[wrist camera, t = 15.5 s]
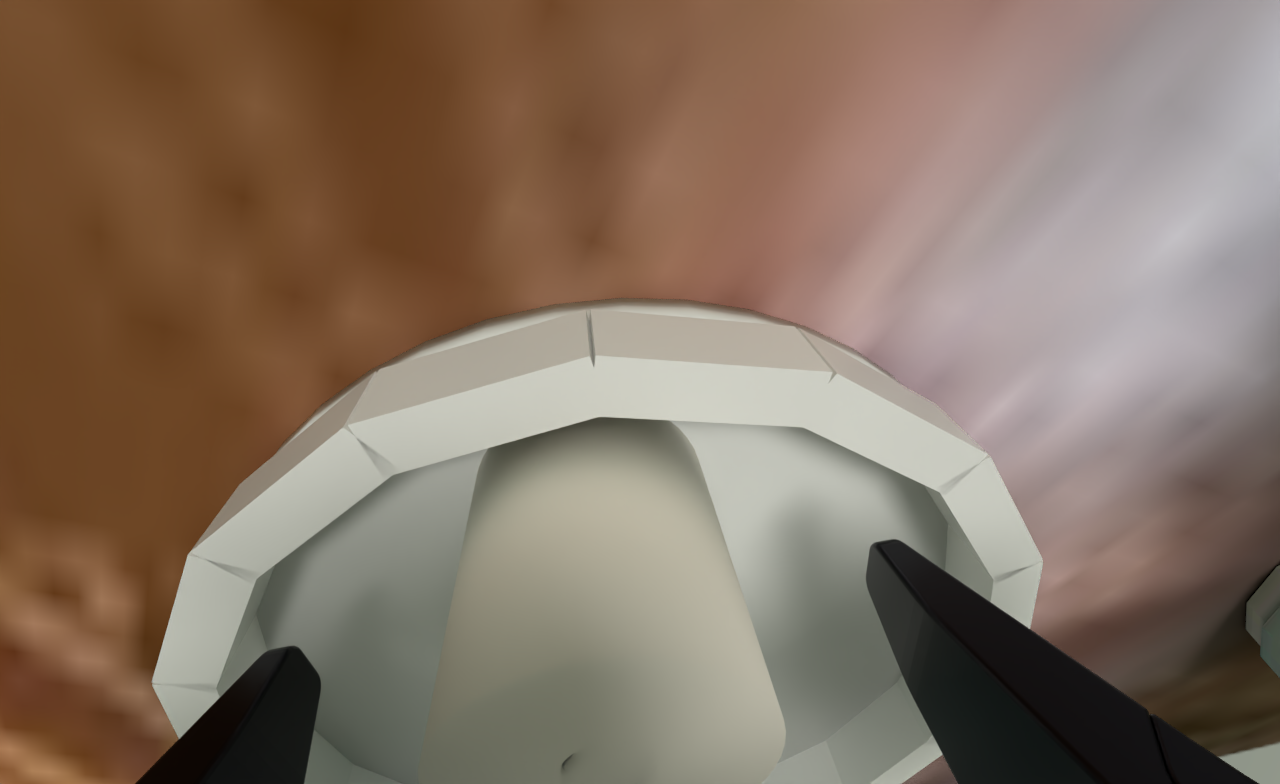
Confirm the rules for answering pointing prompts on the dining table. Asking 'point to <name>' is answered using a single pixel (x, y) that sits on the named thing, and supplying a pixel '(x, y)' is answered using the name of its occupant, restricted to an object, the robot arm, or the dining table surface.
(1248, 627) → the disposable coffee cup
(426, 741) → the cream bead
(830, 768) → the groove dish
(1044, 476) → the dining table surface
